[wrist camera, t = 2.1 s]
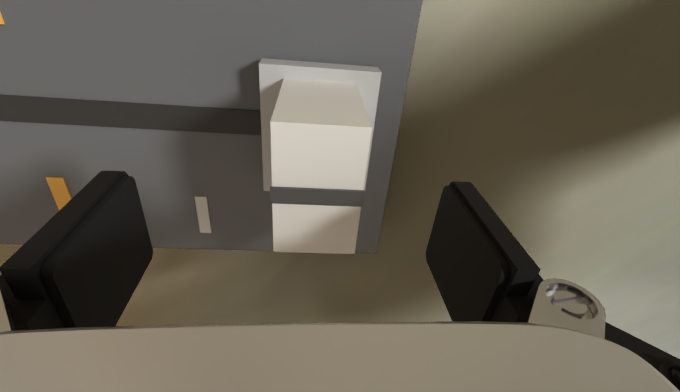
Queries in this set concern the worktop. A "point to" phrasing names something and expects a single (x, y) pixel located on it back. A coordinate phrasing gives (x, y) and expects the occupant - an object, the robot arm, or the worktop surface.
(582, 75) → the worktop surface
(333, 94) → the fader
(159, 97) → the console
